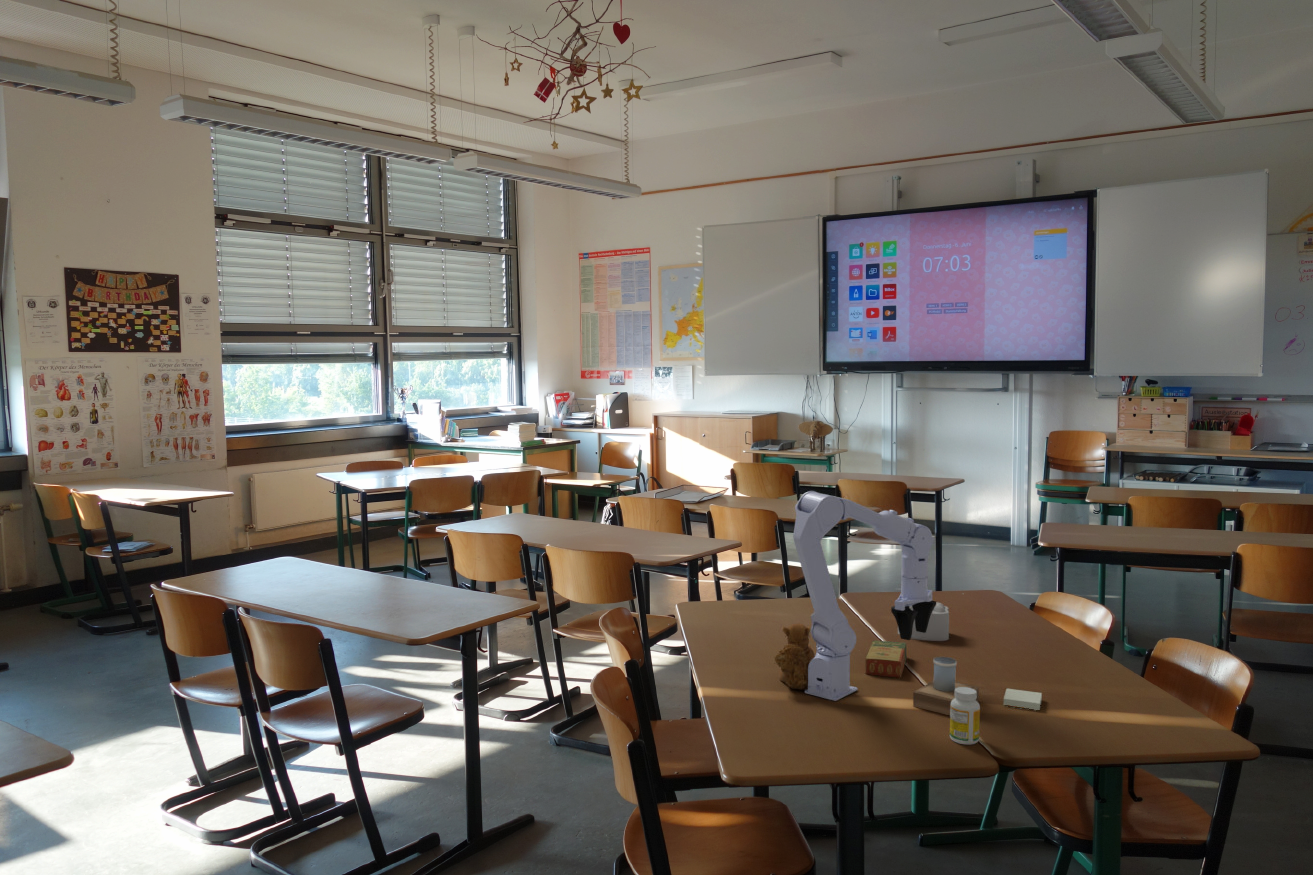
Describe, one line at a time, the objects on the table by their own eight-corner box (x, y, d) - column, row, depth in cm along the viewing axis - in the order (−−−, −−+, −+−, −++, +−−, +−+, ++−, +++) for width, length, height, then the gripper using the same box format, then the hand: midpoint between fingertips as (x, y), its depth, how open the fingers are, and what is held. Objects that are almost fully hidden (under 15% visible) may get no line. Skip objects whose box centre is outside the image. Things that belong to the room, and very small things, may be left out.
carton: (864, 675, 216) (864, 657, 216) (872, 655, 231) (872, 638, 231) (901, 678, 213) (901, 660, 213) (906, 658, 228) (906, 641, 228)
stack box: (954, 716, 189) (954, 701, 189) (913, 706, 195) (913, 691, 195) (978, 700, 198) (978, 686, 198) (938, 691, 204) (938, 677, 204)
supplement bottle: (956, 745, 174) (957, 695, 174) (945, 734, 180) (945, 686, 179) (984, 744, 175) (985, 694, 174) (971, 733, 180) (972, 685, 179)
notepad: (1039, 712, 192) (1039, 703, 192) (1003, 707, 195) (1003, 698, 195) (1041, 702, 198) (1041, 692, 198) (1006, 697, 201) (1006, 688, 201)
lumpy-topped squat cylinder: (949, 641, 241) (949, 609, 240) (897, 638, 245) (897, 605, 244) (947, 631, 251) (948, 599, 250) (898, 627, 255) (898, 596, 254)
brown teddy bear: (824, 676, 215) (825, 620, 214) (815, 696, 201) (816, 636, 200) (781, 672, 218) (782, 616, 217) (770, 691, 204) (770, 633, 203)
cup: (949, 693, 193) (950, 665, 193) (928, 688, 196) (929, 660, 196) (959, 687, 197) (960, 660, 196) (938, 682, 200) (939, 655, 199)
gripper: (916, 584, 201) (915, 645, 202) (945, 573, 212) (944, 631, 213) (886, 579, 206) (885, 639, 207) (916, 569, 217) (915, 626, 218)
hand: (913, 635), depth 210 cm, fingers open, 7 cm apart
